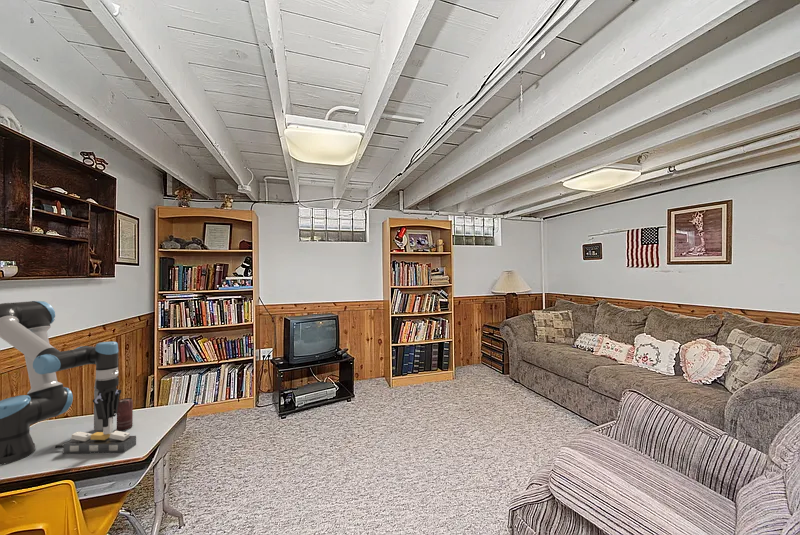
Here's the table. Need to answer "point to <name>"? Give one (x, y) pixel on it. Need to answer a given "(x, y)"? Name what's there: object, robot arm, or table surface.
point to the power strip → (98, 446)
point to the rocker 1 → (81, 436)
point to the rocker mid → (99, 436)
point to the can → (125, 414)
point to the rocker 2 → (119, 435)
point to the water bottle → (97, 422)
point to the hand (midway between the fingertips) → (107, 433)
